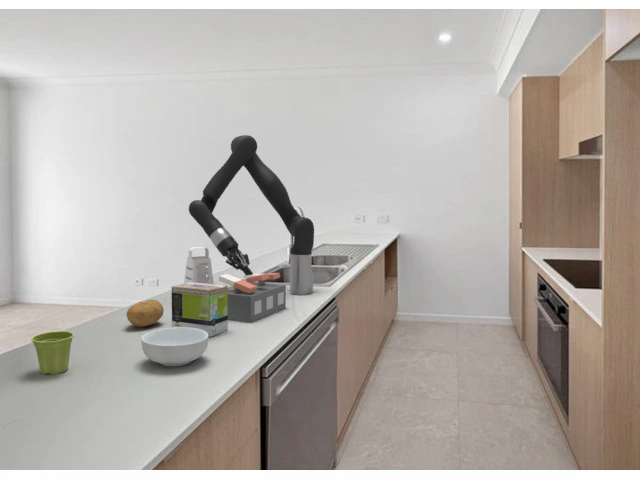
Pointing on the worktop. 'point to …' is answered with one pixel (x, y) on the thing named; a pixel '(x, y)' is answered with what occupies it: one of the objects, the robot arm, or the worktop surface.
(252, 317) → the switch console
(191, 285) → the tea box
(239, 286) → the rocker
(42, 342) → the plant pot
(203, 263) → the grater
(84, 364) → the worktop surface
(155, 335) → the cereal bowl
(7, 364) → the worktop surface
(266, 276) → the block
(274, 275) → the block
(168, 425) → the worktop surface
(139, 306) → the potato
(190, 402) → the worktop surface
